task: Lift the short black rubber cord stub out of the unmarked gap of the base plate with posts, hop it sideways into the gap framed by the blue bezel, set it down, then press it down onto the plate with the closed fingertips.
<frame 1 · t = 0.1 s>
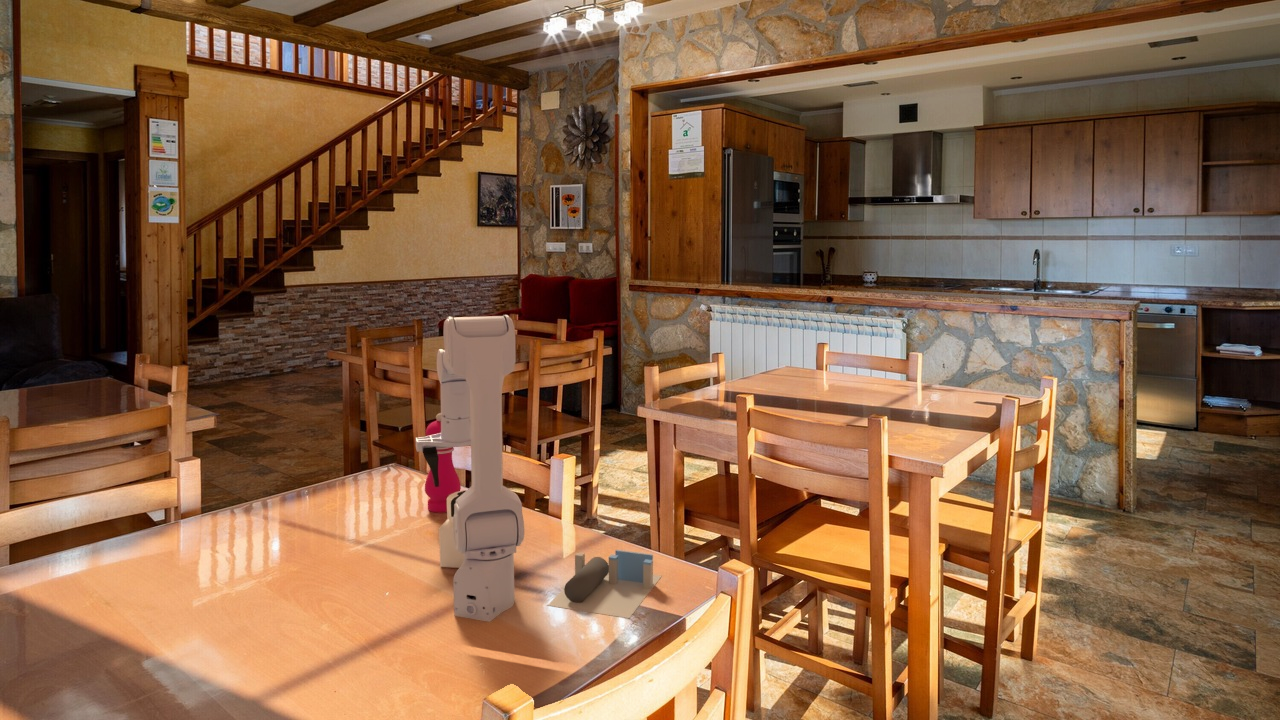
hand: (457, 482, 152), 11 cm above the table, tool pointing down, fingers open, 7 cm apart
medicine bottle: (466, 561, 143), on the table
pepper mill: (443, 508, 170), on the table
base plate with posts: (607, 594, 129), on the table
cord: (587, 589, 129), point 1 cm above the table, touching base plate with posts
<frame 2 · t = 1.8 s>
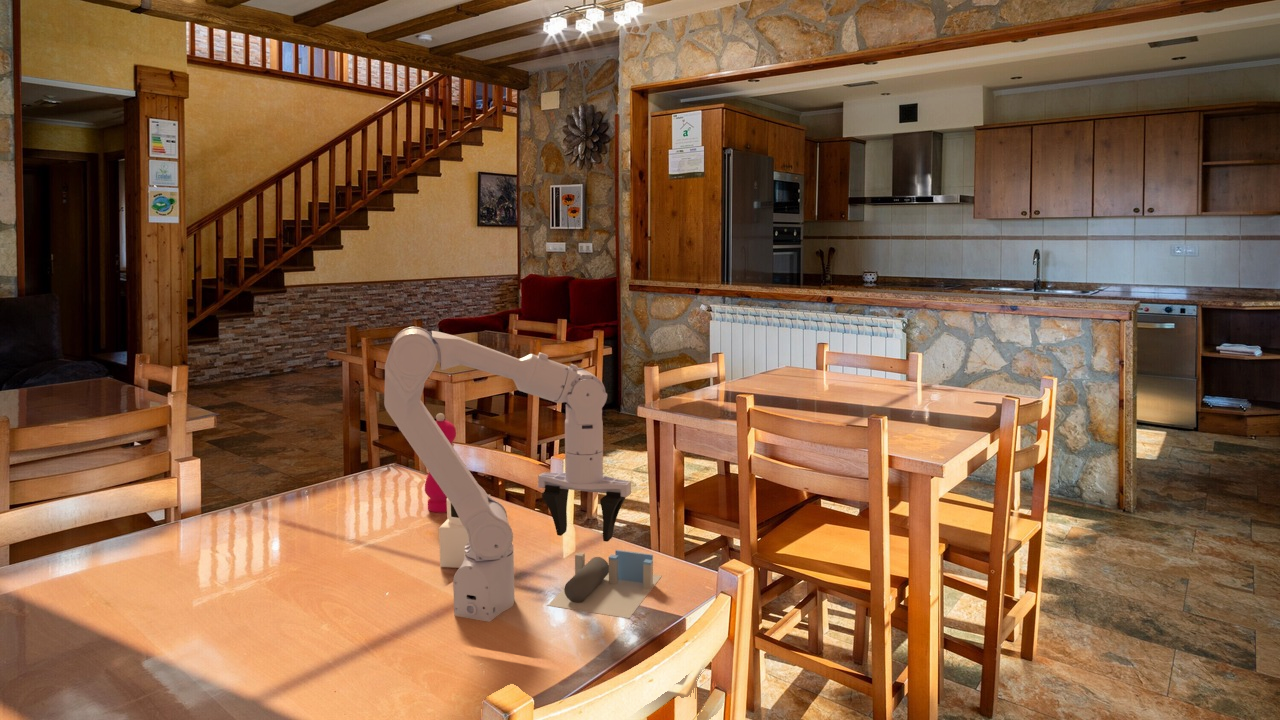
hand: (584, 536, 127), 10 cm above the table, tool pointing down, fingers open, 7 cm apart
nothing on the table moved.
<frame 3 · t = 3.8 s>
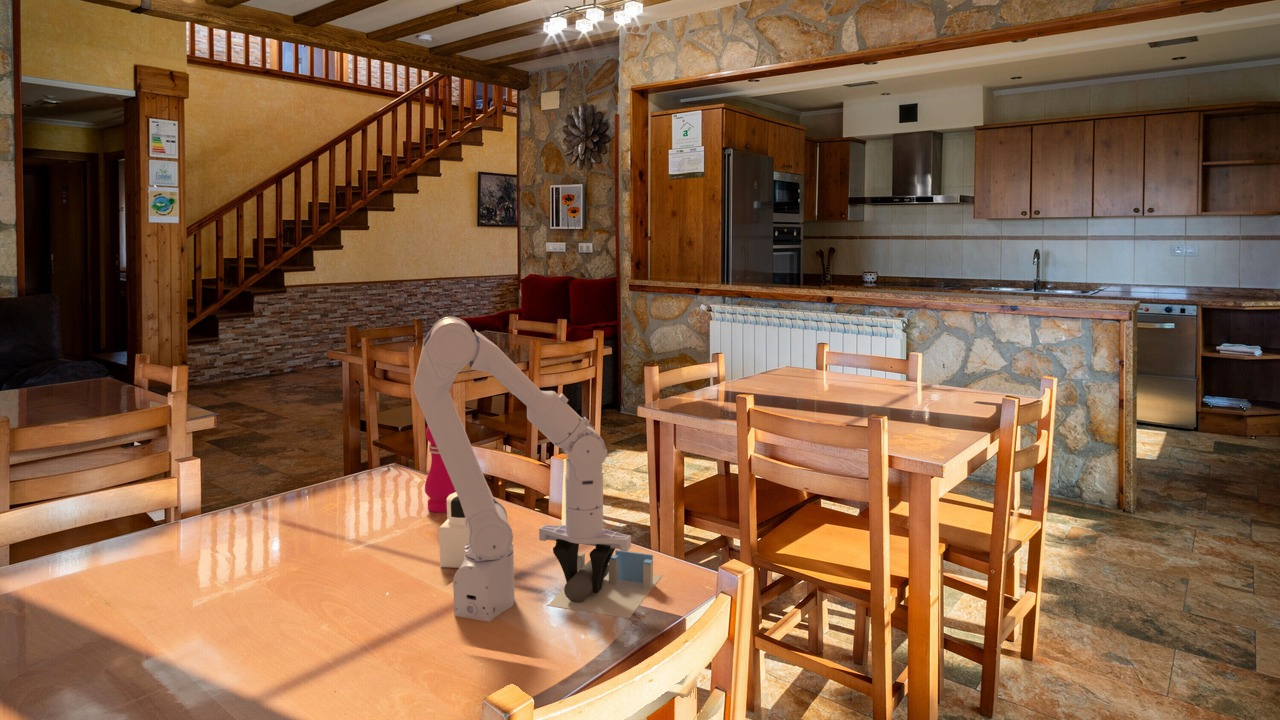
hand: (584, 588, 128), 1 cm above the table, tool pointing down, fingers closed on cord, 4 cm apart
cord: (587, 589, 129), point 1 cm above the table, touching base plate with posts, gripper
everything else where it was.
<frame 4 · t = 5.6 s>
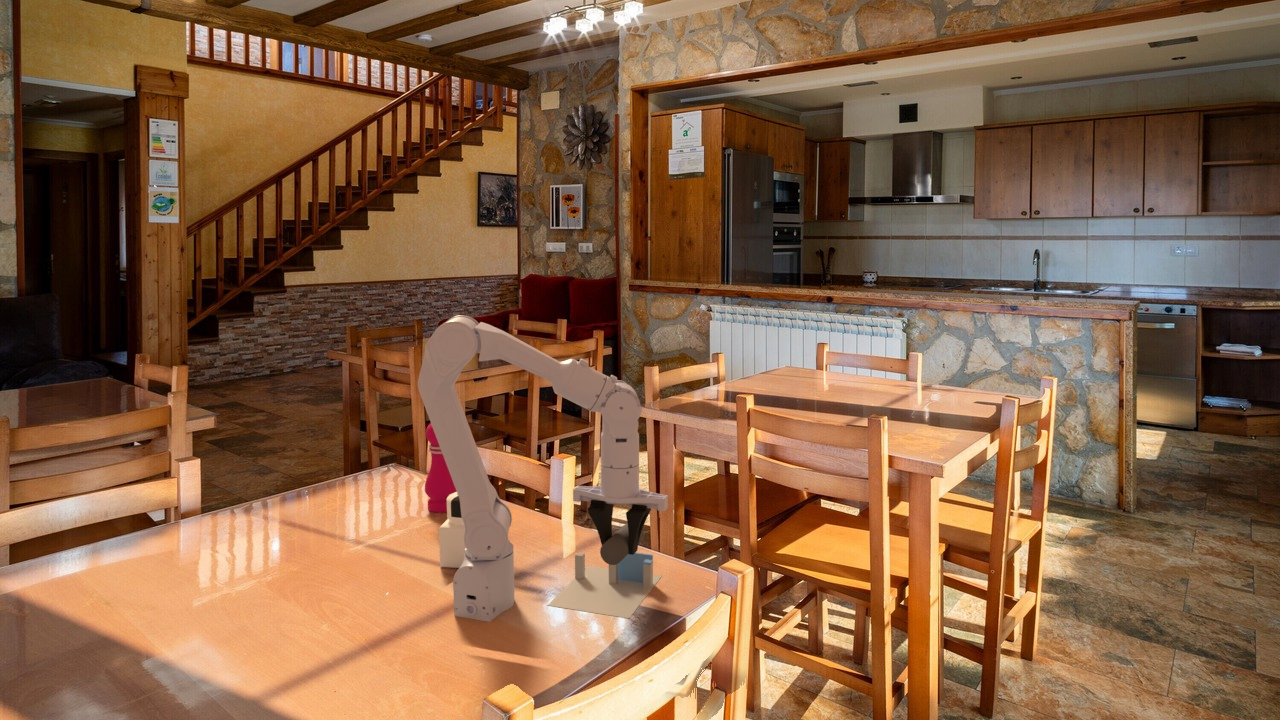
hand: (620, 550, 125), 8 cm above the table, tool pointing down, fingers closed on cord, 4 cm apart
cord: (622, 553, 126), point 7 cm above the table, touching gripper
everything else where it was.
when the fingers open (2 cm above the table, at t = 7.4 s): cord stays where it is, resting on base plate with posts.
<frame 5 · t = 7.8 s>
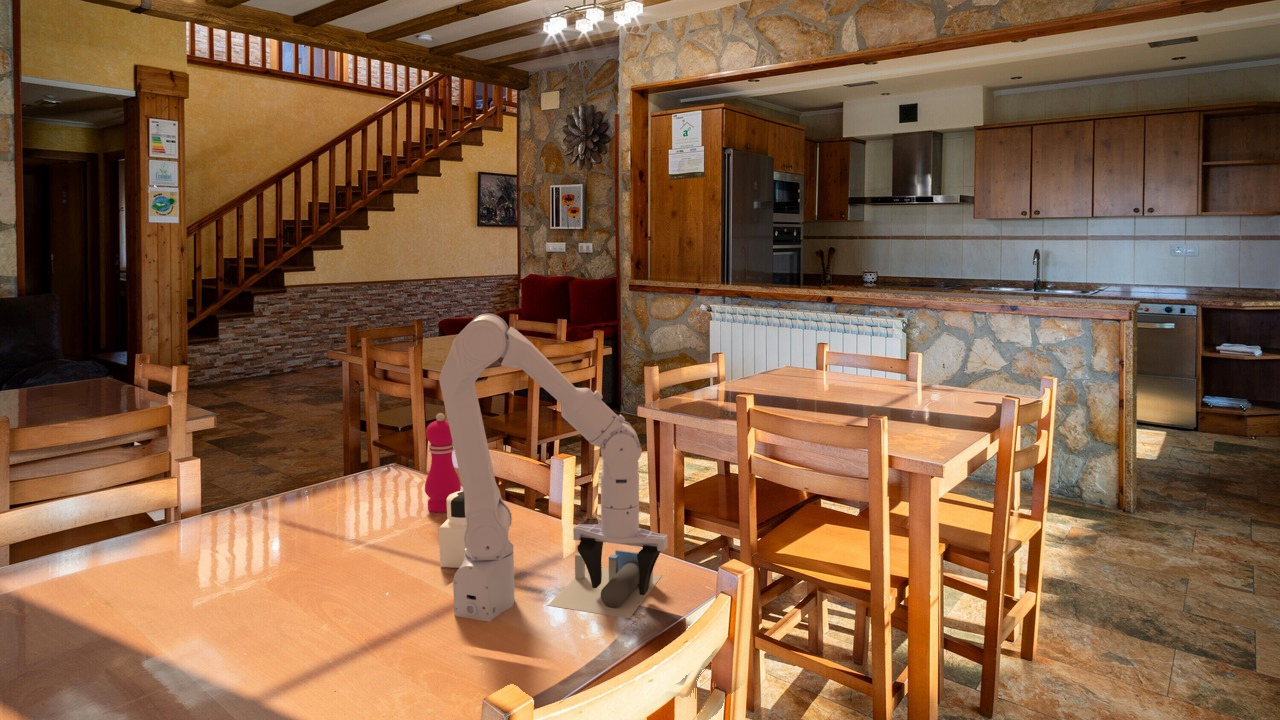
hand: (620, 589, 126), 2 cm above the table, tool pointing down, fingers open, 7 cm apart
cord: (622, 595, 127), point 1 cm above the table, touching base plate with posts
everything else where it was.
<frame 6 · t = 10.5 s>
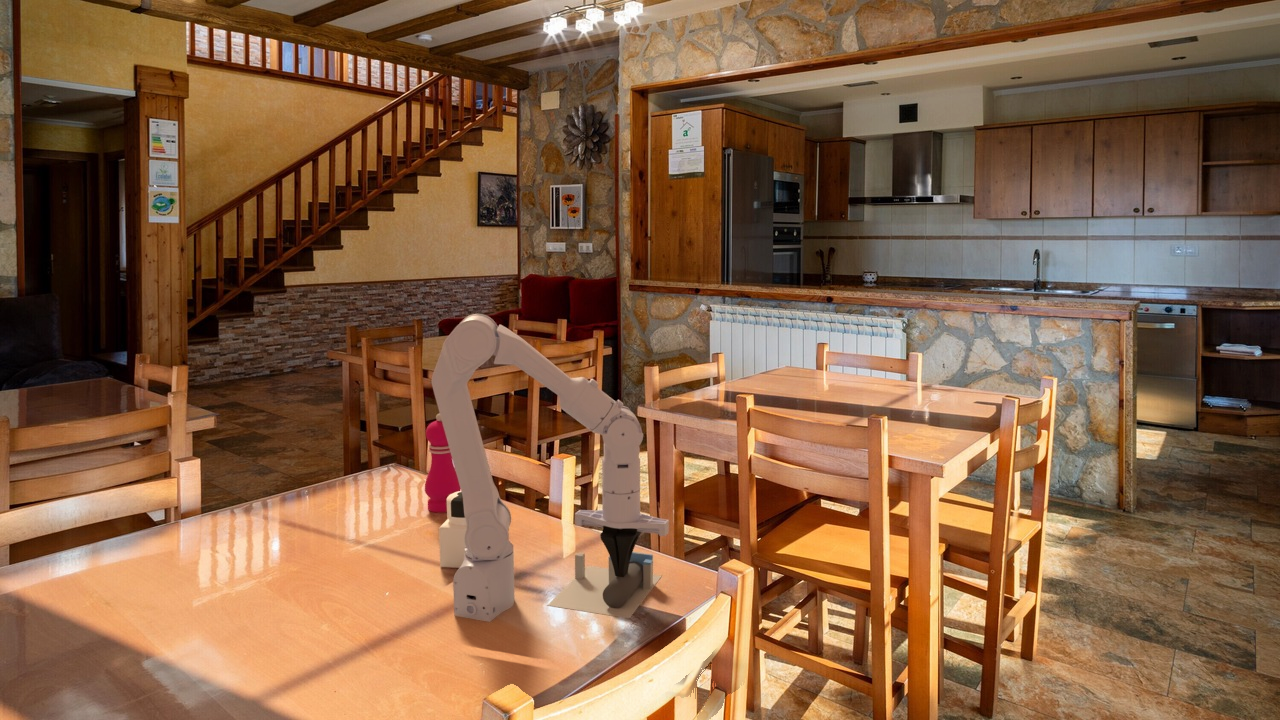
hand: (621, 574, 126), 4 cm above the table, tool pointing down, fingers closed
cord: (622, 594, 127), point 1 cm above the table, tilted 11°, touching base plate with posts, gripper
everything else where it was.
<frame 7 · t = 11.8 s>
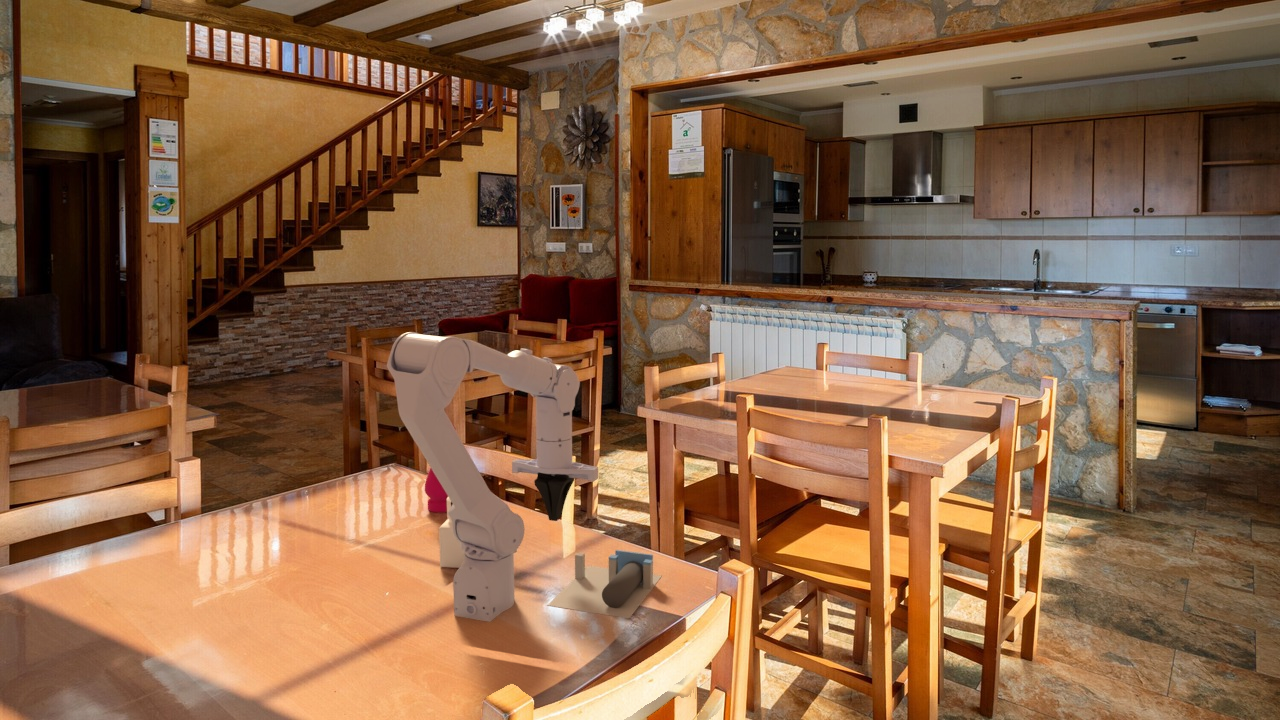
hand: (555, 518, 134), 10 cm above the table, tool pointing down, fingers closed
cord: (622, 594, 127), point 1 cm above the table, tilted 6°, touching base plate with posts
everything else where it was.
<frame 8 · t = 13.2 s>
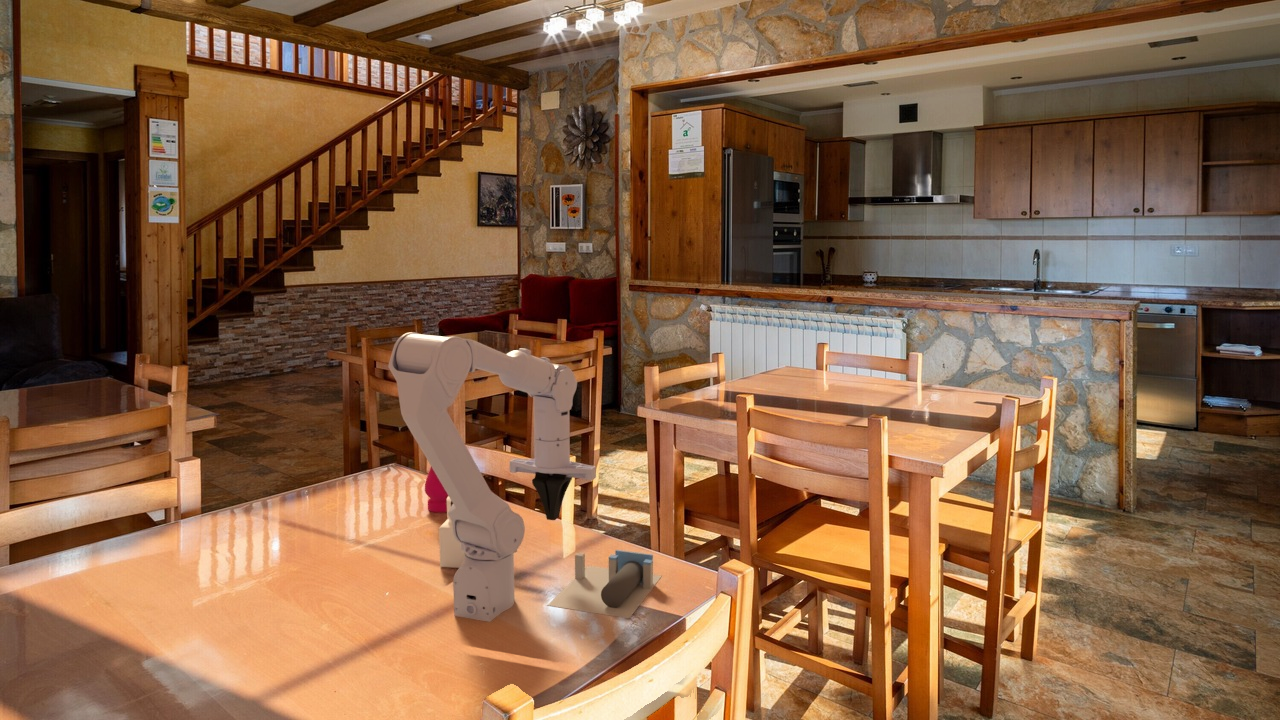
hand: (552, 518, 135), 10 cm above the table, tool pointing down, fingers closed
nothing on the table moved.
at the end: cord 0.1 cm from the target spot on the base plate with posts, point 0.8 cm above the base plate with posts's base; the gripper is holding nothing; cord moved 5.8 cm from its start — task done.
